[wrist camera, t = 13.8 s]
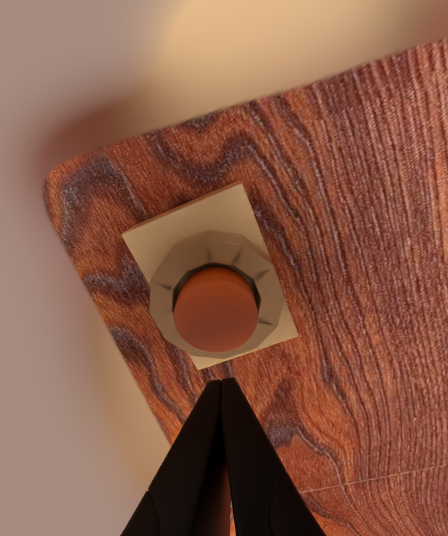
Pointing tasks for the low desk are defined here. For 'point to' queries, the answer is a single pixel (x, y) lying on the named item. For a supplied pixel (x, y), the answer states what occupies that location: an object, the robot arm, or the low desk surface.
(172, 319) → the button block
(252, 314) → the button
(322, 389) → the low desk surface
